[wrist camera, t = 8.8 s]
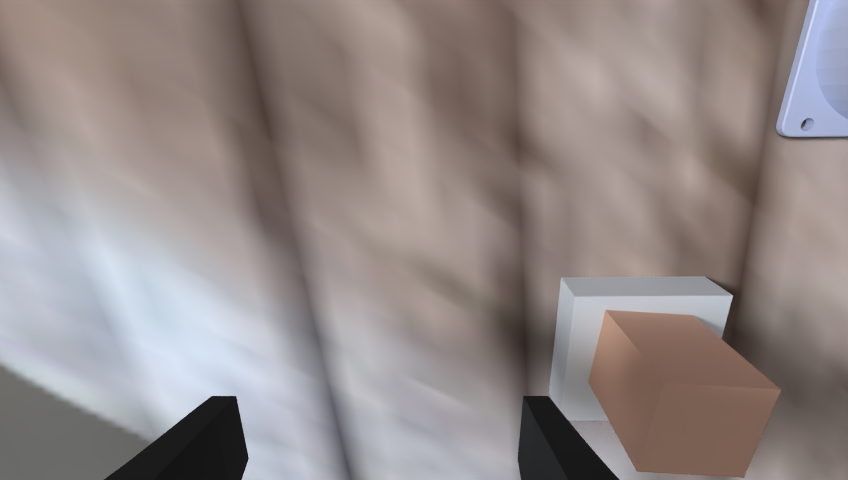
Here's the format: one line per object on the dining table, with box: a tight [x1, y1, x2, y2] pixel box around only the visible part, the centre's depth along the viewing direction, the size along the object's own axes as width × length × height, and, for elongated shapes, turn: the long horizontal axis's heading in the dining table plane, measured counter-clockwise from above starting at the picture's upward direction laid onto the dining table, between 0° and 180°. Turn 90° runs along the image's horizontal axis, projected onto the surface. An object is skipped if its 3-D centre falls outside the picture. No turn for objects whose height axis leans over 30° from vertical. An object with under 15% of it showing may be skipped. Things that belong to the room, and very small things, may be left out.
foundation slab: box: [549, 276, 733, 421], centre depth 21 cm, size 7×7×2 cm
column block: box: [588, 310, 781, 478], centre depth 17 cm, size 4×4×5 cm
